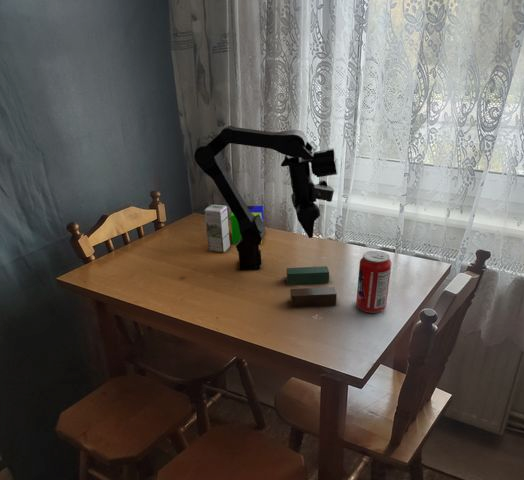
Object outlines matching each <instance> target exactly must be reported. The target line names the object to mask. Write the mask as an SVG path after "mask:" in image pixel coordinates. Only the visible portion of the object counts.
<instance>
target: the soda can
mask: <svg viewBox="0 0 524 480" xmlns="http://www.w3.org/2000/svg"><path fill="white" fill-rule="evenodd" d="M391 270H392V261H391V259H390V255H389V254H388V253H386V252H384V251H381V250H369V251H366V252H364V253H363V255H362V257H361V258H360V259H359V267H358V278H357V291H356V299H355V300H356V302H355V305H356V307H357V308H358V309H359V310H361V311H363V312H365V313H368V314H375V313H380V312H382V311H384V310H385V309H386V308H387V304H388V295H389V287H390V281H391V280H390V279H391Z"/></svg>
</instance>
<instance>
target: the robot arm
mask: <svg viewBox="0 0 524 480" xmlns="http://www.w3.org/2000/svg"><path fill="white" fill-rule="evenodd" d="M230 144H233V145H240V146H248V147H254V148H261V149H270V150H273V151H276V152H277V153H279V154H281V155H284V158H283V160H282V162H281V164H280V166H281V167H282V168H283V167H288V172H289V177H290V186H291V190H292V194H291V195H290V197H291V202H292V206H293V208H294V210H295V214H296V218H297V221H298V223H299V224H300V226H301V228H302V229H303V230H304V232H305V234H306V236H307V237H308V238H309V239H312V238H313V237H314V229H315V228H314V227H315V222H316V220H318V219H319V218H320V216H321V210H320V207H319V205H318V204H316V202H317V200H319V201H326V202H328V203H331V202H332V201H333V196H334V193H335V190H334V188H333V187H332V186H331V185H328V182H327V180H323V179H322V180H320V181H319V182H318V183H316V184H315V183H314V182H313V179H312V175H313V176H314V177H316V178H323V177H329V176H330V177H331V176H338V174H339V166H338V159H337V155H336V151H335V150H336V149H335V148H334V147H333V148H332V147H331V148H327V149H325V150H319V151H318V150H317V149H316V148H315V147H314V146H313V145H312V144H311V143H310V141H308V138H307V135H306V134H305V132H304V131H302V130H299V129H294V130H292V129H289V130H282V131H281V130H280V131H267V130H262V129H261V130H260V129H253V128H244V127H238V126H237V127H236V126H234V125H227V126H225V127H224V128H223V129H222V130H221V131H220V133H219V134H217V135H216V136H215V137H214V138H213V139H212V140H207V141H205V142H203V143H202V144H201V145H199V146H198V147H197V148H196V149H195V151H194V156H193V158H194V162H195V163H196V165H197V166H198V167H199V168H200V169H201V171H202V172H203V173H205V174H206V175H207V176H209V177H210V178H211V179H212V181H213V182H214V184H215V185H216V187H217V189H218V191H219V192H220V194H221V196H222V197H223V199H224V201H225V202H226V205H228V206H227V207H229V209H230V210H231V213H232V212H233V214H234V216H235V217H236V219H237V221H238V225H239V230H240V234H241V236H242V237H241V239H240V240H239V242H238V244H235V248H236V250H237V252H238V270H239V271H249V270H260V269H261V265H262V250H261V249H260V245H261V244H262V243H261V241H262V242H263V238H264V237H265V235H266V231H267V230H266V223H265V222H264V223H263V221H262V219H261V217H260V215H259V214H258V215H256V216H254V215H253V214H252V213H251V212H250V211H249V209H248V208H247V206H248V205H247V204H246V202H245V201H244V199H243V197H242V195H241V193H240V192H239V191H238V189H237V187H236V184H235V183H234V182H233V180H232V178H231V177H230V175H229V173H228V171H227V170H226V165H225V161H224V157H223V154H222V151H223V149H226V147H227V146H228V145H230ZM260 243H261V244H260Z"/></svg>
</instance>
